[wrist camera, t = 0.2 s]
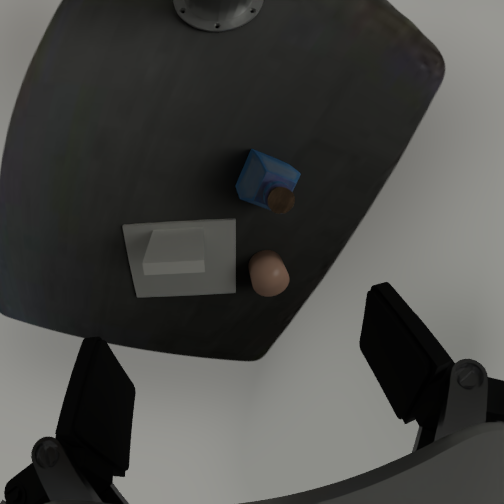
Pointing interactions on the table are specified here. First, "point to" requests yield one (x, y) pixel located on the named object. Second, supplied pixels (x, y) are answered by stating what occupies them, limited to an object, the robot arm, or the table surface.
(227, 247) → the mat
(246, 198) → the perfume bottle
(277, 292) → the brown rounded cylinder
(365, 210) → the table surface
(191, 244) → the tile
